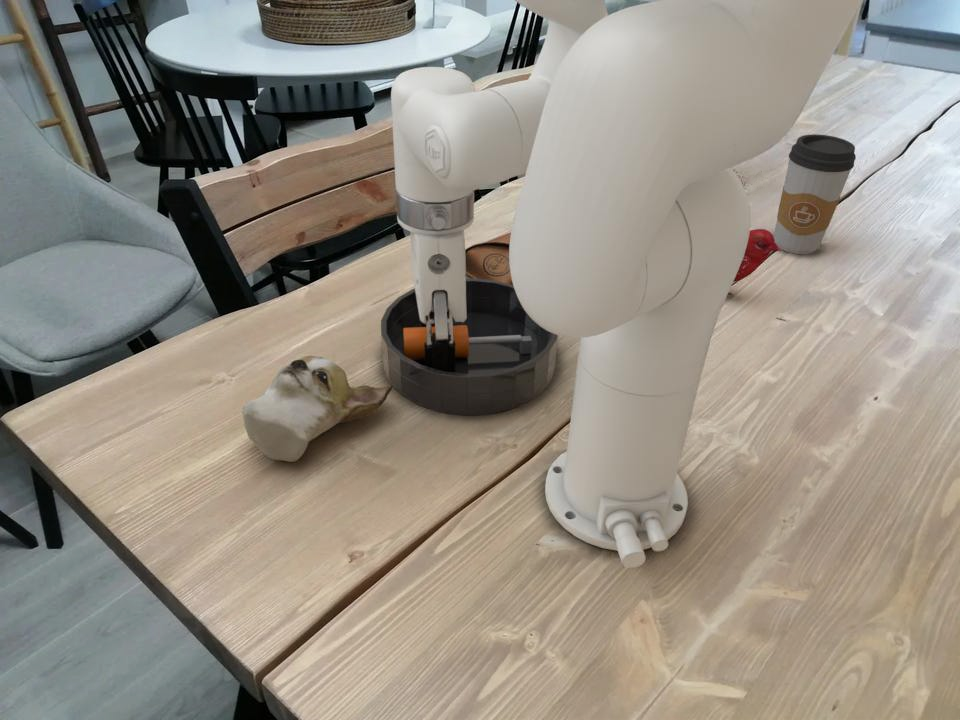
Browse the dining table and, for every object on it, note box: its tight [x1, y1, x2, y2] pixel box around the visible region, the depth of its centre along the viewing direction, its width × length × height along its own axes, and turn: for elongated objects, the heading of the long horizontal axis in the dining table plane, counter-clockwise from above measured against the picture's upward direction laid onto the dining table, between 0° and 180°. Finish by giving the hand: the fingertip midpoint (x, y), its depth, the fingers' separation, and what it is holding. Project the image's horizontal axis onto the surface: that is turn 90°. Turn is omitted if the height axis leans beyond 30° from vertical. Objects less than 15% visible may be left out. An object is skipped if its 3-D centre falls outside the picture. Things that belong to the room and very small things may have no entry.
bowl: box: [380, 277, 559, 416], centre depth 82 cm, size 19×19×5 cm
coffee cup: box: [773, 133, 857, 255], centre depth 103 cm, size 8×8×15 cm
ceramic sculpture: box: [241, 355, 393, 463], centre depth 71 cm, size 11×9×15 cm
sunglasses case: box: [465, 231, 513, 285], centre depth 101 cm, size 18×7×7 cm
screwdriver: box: [403, 325, 532, 360], centre depth 82 cm, size 14×4×4 cm, turn 96°
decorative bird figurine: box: [727, 228, 782, 296], centre depth 94 cm, size 3×18×10 cm, turn 65°
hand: (438, 353), depth 82 cm, fingers open, 6 cm apart
